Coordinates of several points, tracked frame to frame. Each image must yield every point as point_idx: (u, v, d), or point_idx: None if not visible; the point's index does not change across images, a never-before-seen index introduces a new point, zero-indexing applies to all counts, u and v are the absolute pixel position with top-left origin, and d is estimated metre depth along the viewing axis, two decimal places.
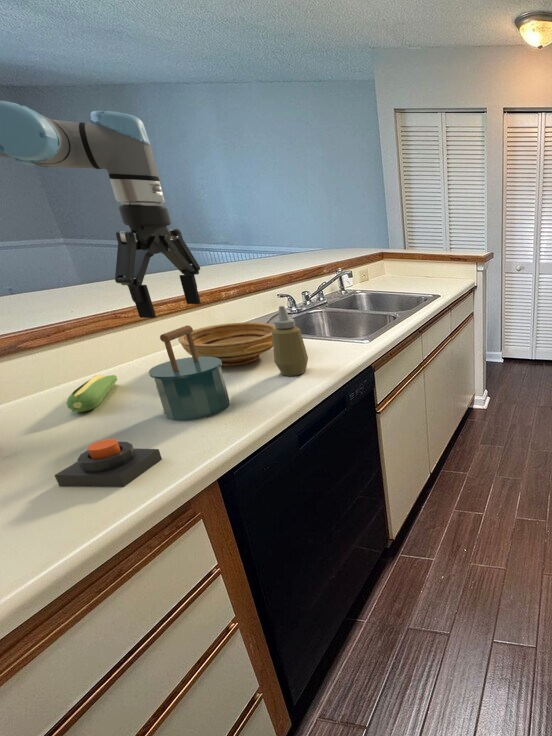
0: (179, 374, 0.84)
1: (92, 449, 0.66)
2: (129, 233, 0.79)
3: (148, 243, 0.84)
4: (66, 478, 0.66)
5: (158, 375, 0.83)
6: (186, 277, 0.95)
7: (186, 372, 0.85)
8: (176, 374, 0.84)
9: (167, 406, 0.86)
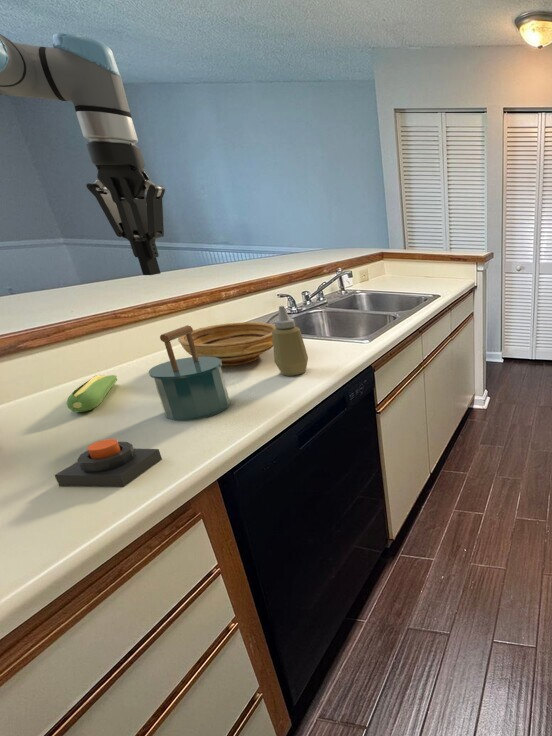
0: (179, 374, 0.84)
1: (92, 449, 0.66)
2: None
3: None
4: (66, 478, 0.66)
5: (158, 375, 0.83)
6: None
7: (186, 372, 0.85)
8: (176, 374, 0.84)
9: (167, 406, 0.86)
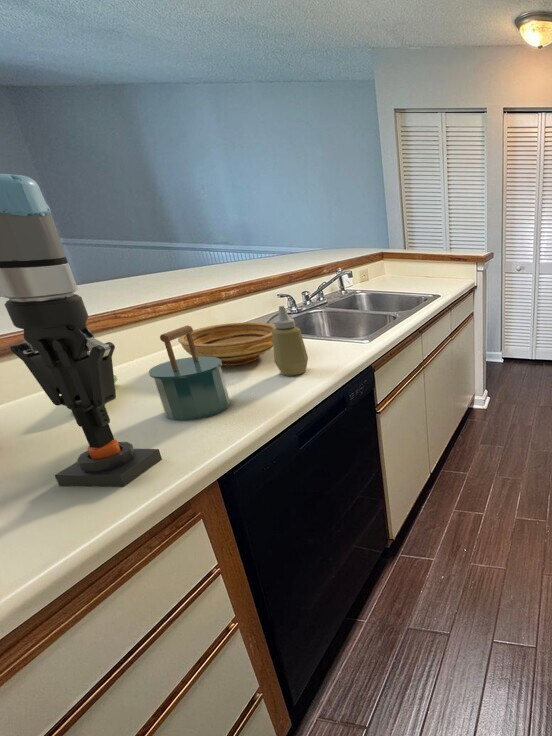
0: (179, 374, 0.84)
1: (92, 449, 0.66)
2: None
3: None
4: (66, 478, 0.66)
5: (158, 375, 0.83)
6: None
7: (186, 372, 0.85)
8: (176, 374, 0.84)
9: (167, 406, 0.86)
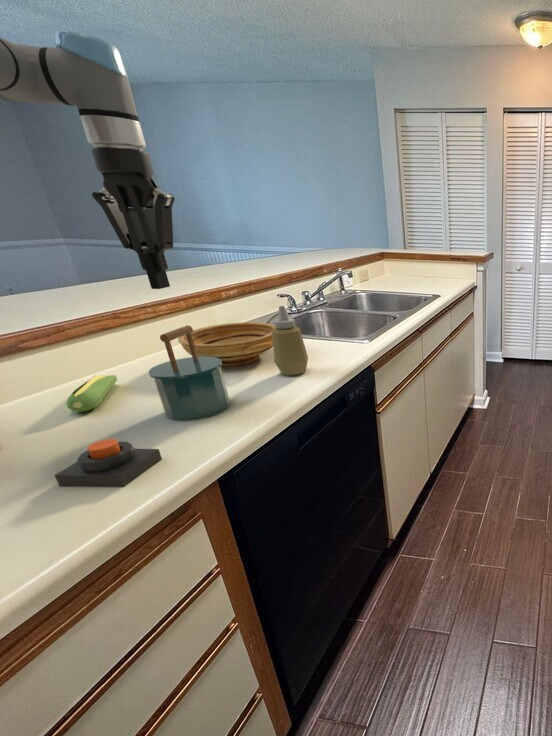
0: (179, 374, 0.84)
1: (92, 449, 0.66)
2: None
3: None
4: (66, 478, 0.66)
5: (158, 375, 0.83)
6: None
7: (186, 372, 0.85)
8: (176, 374, 0.84)
9: (167, 406, 0.86)
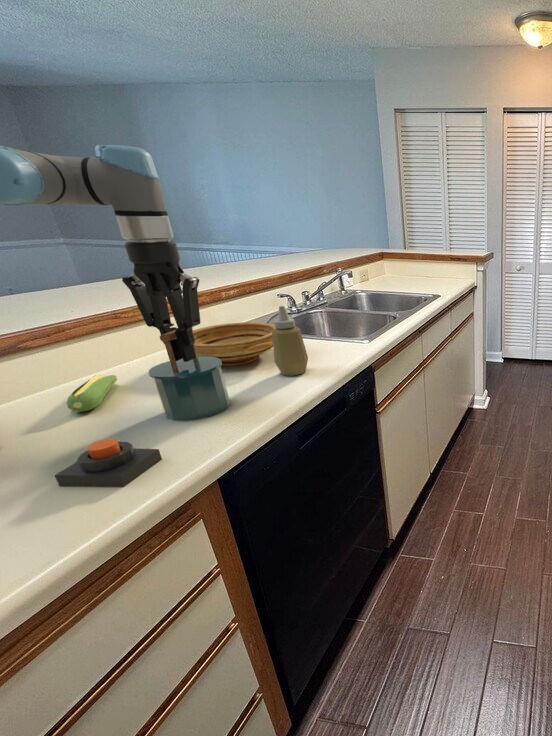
0: (179, 374, 0.84)
1: (92, 449, 0.66)
2: None
3: None
4: (66, 478, 0.66)
5: (158, 375, 0.83)
6: None
7: (186, 372, 0.85)
8: (176, 374, 0.84)
9: (167, 406, 0.86)
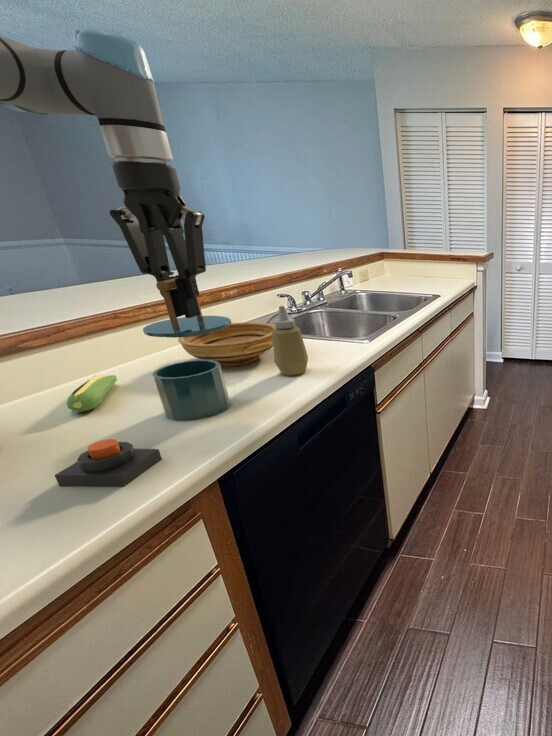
0: (180, 331, 0.69)
1: (92, 449, 0.66)
2: None
3: None
4: (66, 478, 0.66)
5: (154, 332, 0.68)
6: None
7: (189, 329, 0.70)
8: (177, 331, 0.69)
9: (167, 406, 0.86)
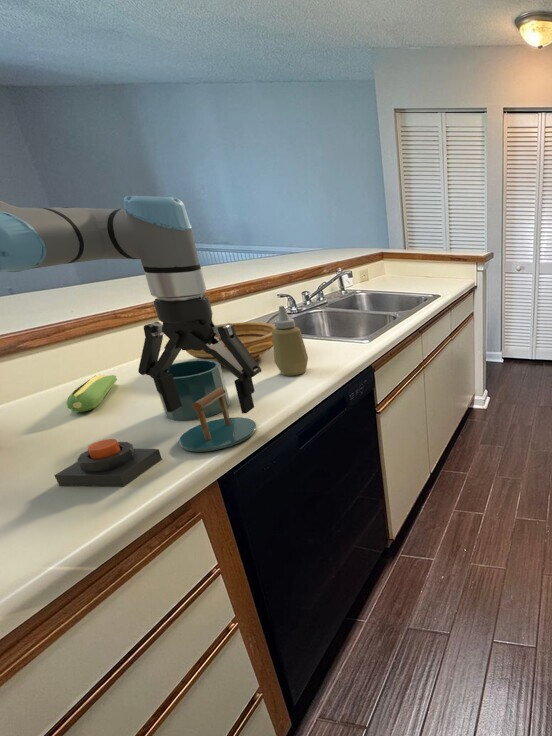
0: (213, 445, 0.76)
1: (92, 449, 0.66)
2: None
3: (212, 335, 0.75)
4: (66, 478, 0.66)
5: (190, 446, 0.76)
6: (168, 378, 0.77)
7: (220, 441, 0.77)
8: (209, 444, 0.76)
9: None
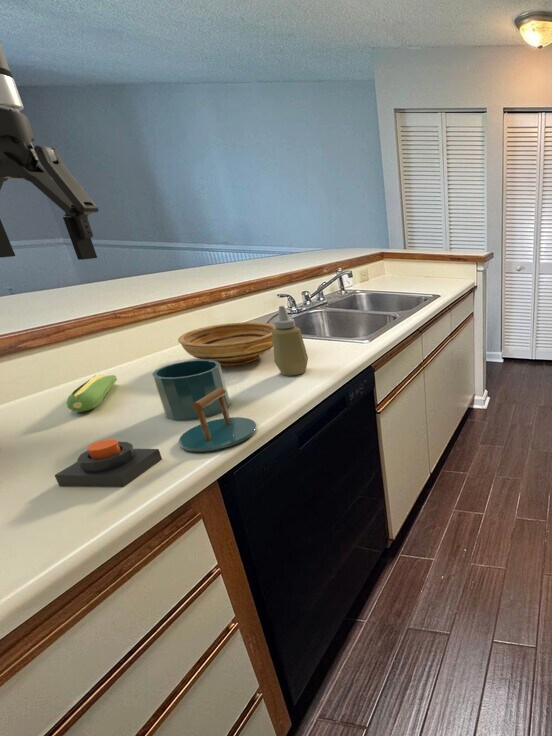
0: (213, 445, 0.76)
1: (92, 449, 0.66)
2: None
3: None
4: (66, 478, 0.66)
5: (190, 446, 0.76)
6: None
7: (220, 441, 0.77)
8: (209, 444, 0.76)
9: (167, 406, 0.86)
